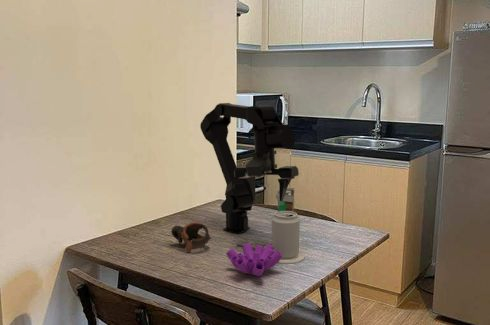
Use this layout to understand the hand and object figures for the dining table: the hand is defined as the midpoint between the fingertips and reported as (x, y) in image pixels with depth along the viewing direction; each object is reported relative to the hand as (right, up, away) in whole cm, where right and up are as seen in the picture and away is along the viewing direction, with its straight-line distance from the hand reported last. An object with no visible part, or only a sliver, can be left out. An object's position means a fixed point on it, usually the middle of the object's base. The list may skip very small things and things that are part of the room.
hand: (267, 200), depth 146 cm
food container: (+7, -9, +25) cm, 28 cm away
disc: (+5, -15, -10) cm, 18 cm away
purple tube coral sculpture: (-4, -17, -20) cm, 26 cm away
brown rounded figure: (-23, -14, -2) cm, 26 cm away
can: (+5, -15, -10) cm, 18 cm away
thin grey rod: (-4, -14, -4) cm, 15 cm away
